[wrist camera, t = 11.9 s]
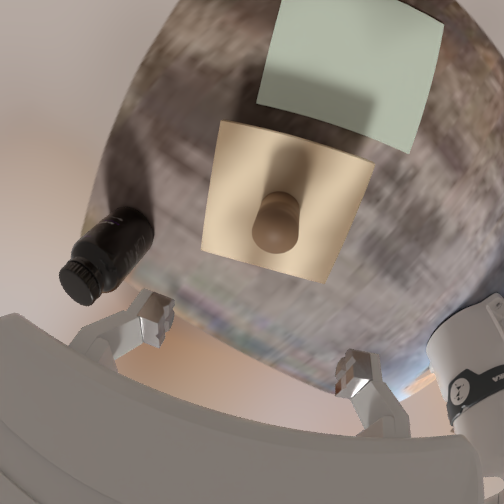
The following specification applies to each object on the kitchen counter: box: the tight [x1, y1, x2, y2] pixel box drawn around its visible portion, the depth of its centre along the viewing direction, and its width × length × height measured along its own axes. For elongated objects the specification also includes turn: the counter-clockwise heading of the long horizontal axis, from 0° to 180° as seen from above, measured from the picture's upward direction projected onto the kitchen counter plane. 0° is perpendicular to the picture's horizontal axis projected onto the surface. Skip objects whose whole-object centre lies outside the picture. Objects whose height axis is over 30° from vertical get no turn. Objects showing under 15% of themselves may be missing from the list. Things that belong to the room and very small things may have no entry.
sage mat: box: [256, 0, 444, 154], centre depth 18 cm, size 15×15×1 cm
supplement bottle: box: [59, 207, 153, 306], centre depth 28 cm, size 7×7×12 cm
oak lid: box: [201, 120, 375, 284], centre depth 21 cm, size 12×12×5 cm
